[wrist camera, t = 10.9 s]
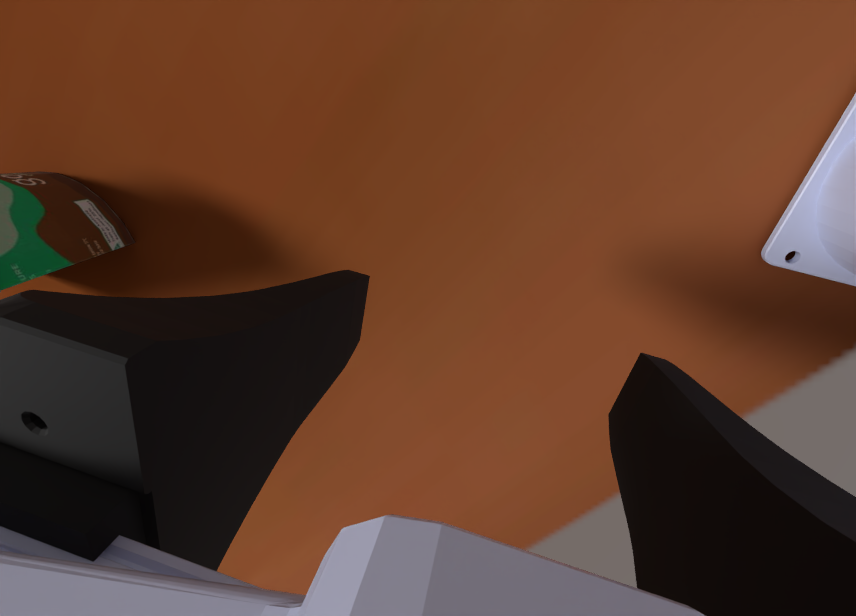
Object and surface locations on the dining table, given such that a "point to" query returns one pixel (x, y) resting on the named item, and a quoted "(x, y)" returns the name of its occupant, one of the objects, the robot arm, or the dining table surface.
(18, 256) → the food container
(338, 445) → the dining table surface
